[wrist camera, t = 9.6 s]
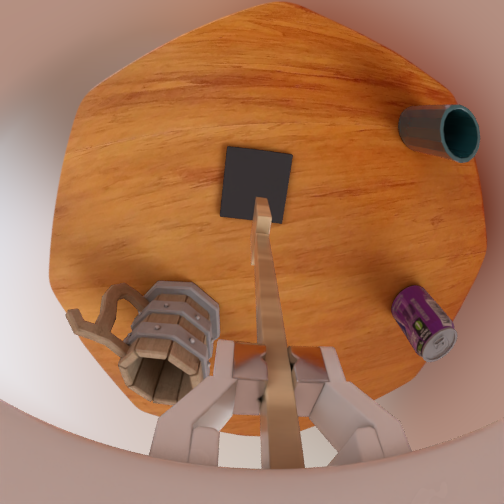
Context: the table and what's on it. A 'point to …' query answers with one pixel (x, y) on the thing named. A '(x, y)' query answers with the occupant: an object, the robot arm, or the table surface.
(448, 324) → the beverage can
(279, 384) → the wooden stir stick
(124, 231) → the table surface
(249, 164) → the mat
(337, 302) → the table surface
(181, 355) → the tankard
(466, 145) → the cup
